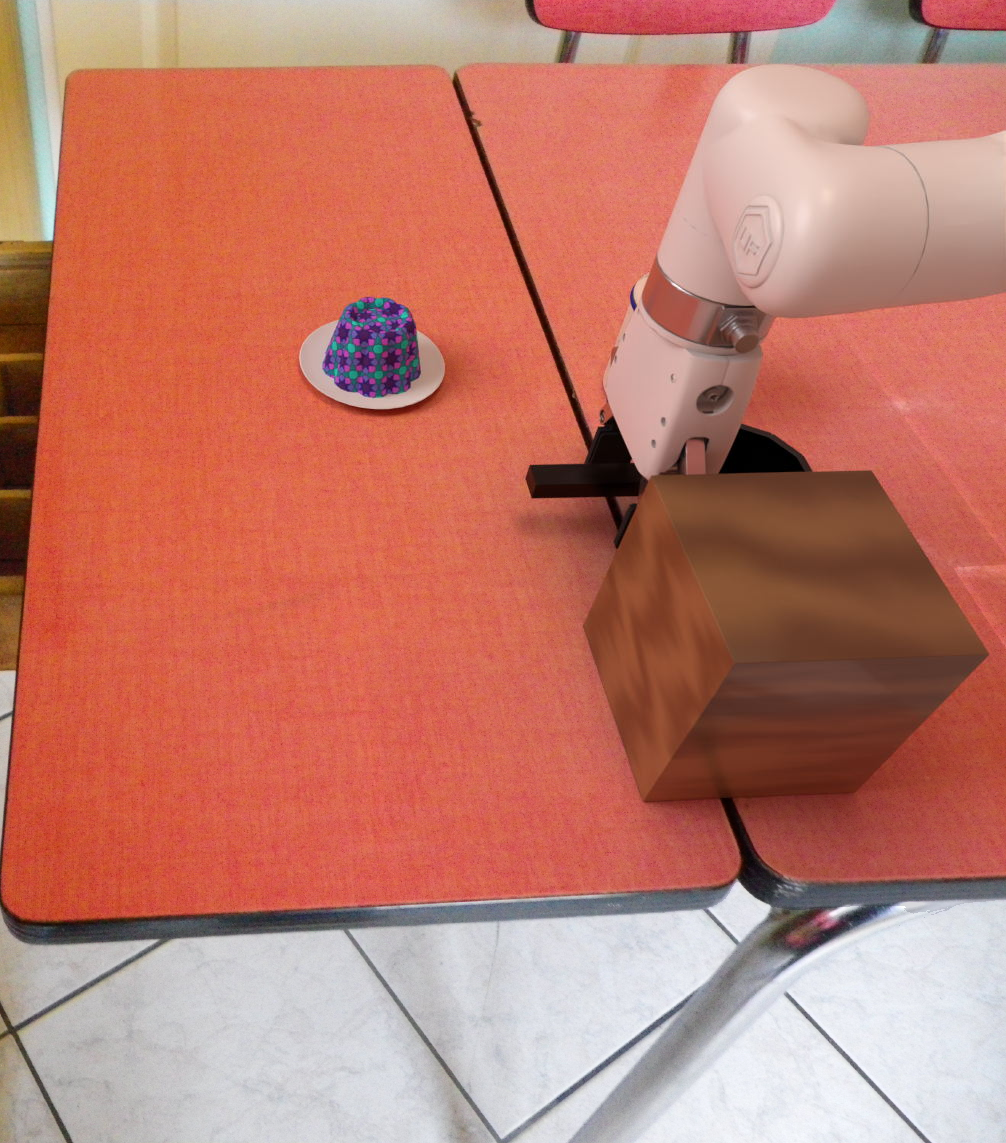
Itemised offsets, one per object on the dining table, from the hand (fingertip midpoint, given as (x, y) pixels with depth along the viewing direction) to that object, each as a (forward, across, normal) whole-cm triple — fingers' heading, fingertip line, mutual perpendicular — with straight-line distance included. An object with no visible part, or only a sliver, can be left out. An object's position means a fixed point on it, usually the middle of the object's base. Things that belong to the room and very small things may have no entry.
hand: (620, 505), depth 75 cm
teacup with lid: (+2, +16, -8) cm, 17 cm away
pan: (+2, 0, -3) cm, 3 cm away
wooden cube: (+2, -16, -2) cm, 16 cm away
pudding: (+2, +18, +15) cm, 24 cm away
